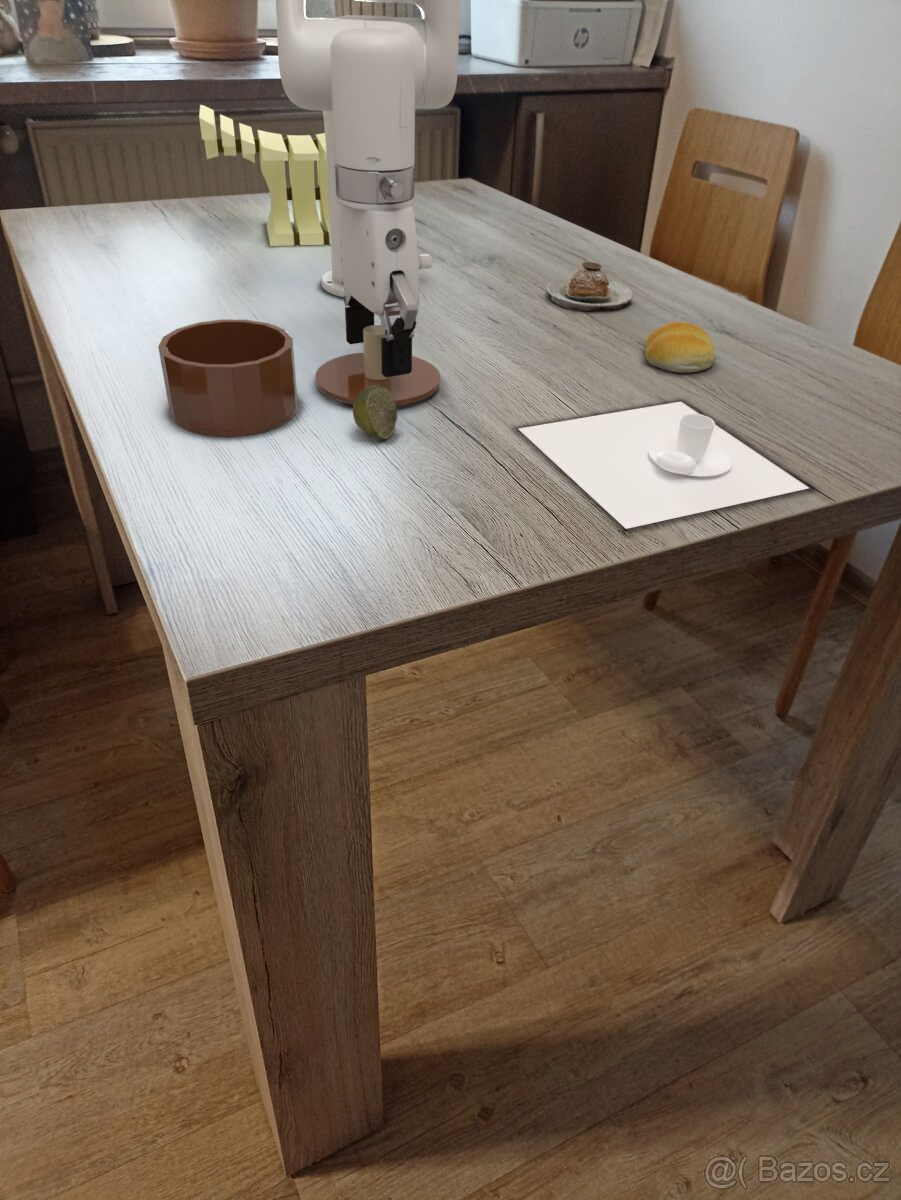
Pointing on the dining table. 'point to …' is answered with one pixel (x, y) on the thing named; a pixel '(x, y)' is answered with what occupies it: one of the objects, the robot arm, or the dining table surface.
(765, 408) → the dining table surface
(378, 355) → the lid
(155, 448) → the dining table surface
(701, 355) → the bread roll
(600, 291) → the pastry
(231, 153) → the slatted curved stool
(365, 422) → the lime
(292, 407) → the pot
